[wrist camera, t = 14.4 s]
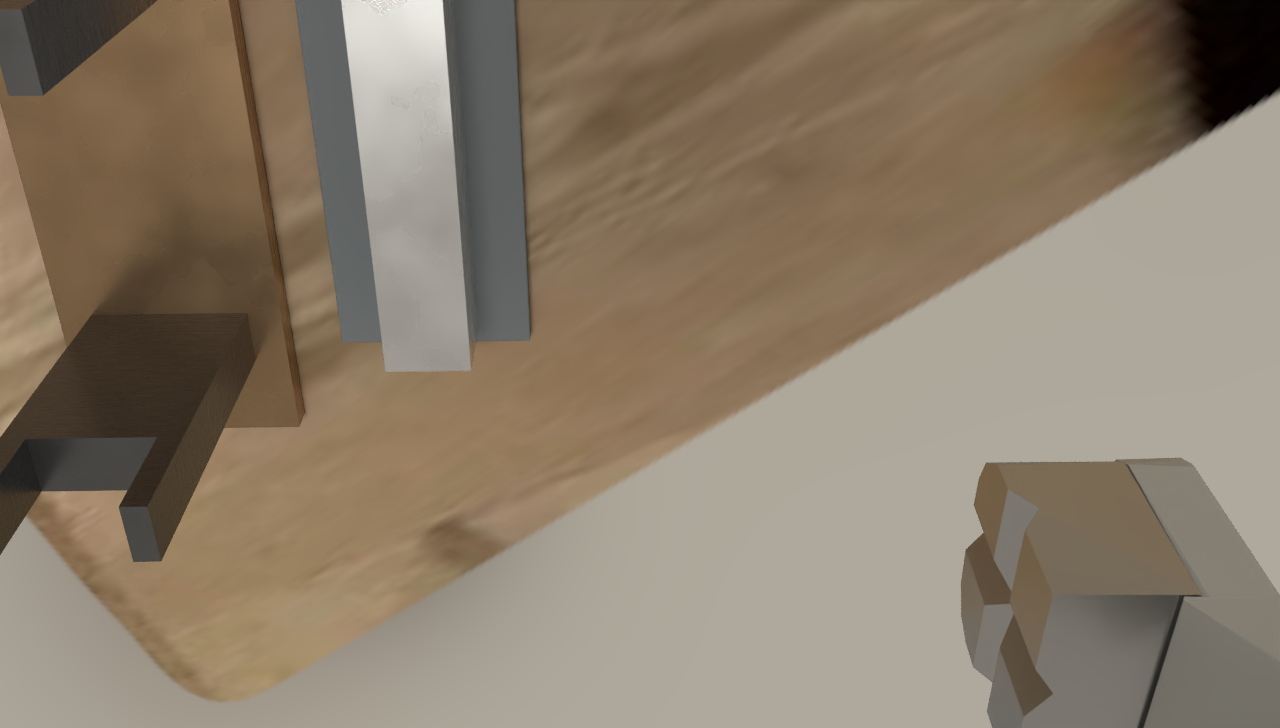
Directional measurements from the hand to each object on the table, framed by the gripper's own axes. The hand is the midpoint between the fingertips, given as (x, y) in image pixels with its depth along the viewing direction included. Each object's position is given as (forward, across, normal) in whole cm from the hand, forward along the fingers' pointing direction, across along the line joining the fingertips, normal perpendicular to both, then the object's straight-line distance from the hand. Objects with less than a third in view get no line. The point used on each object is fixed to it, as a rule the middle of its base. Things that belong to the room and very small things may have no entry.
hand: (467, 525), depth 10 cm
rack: (+32, +16, +10) cm, 37 cm away
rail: (+32, +6, +6) cm, 33 cm away
